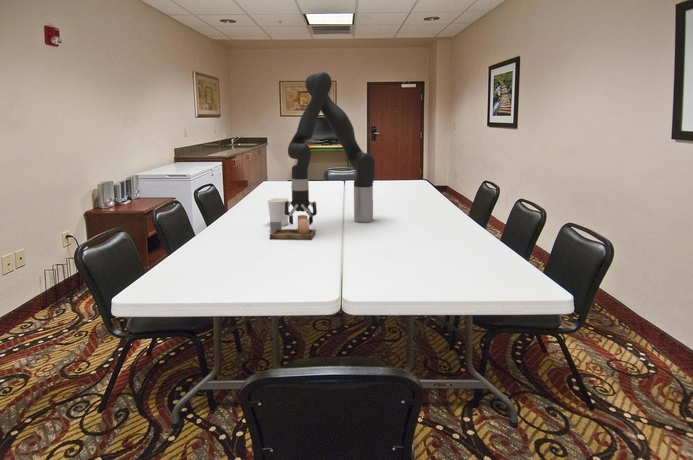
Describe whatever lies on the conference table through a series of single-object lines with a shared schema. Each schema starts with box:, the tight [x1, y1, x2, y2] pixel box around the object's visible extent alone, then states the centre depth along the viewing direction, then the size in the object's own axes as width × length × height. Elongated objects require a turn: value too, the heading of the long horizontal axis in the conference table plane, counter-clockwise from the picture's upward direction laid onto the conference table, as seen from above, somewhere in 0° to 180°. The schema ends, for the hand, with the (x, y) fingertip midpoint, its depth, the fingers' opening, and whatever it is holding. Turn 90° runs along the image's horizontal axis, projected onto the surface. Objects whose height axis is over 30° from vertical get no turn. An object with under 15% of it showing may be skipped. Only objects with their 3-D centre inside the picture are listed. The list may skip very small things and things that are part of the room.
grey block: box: [269, 219, 283, 234], centre depth 216 cm, size 5×5×5 cm
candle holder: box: [267, 197, 290, 227], centre depth 228 cm, size 10×10×12 cm
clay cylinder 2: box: [297, 218, 310, 235], centre depth 205 cm, size 4×4×7 cm
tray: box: [269, 228, 317, 241], centre depth 206 cm, size 18×10×2 cm, turn 83°
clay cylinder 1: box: [297, 214, 308, 229], centre depth 215 cm, size 4×4×7 cm
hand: (301, 224), depth 215 cm, fingers open, 8 cm apart
